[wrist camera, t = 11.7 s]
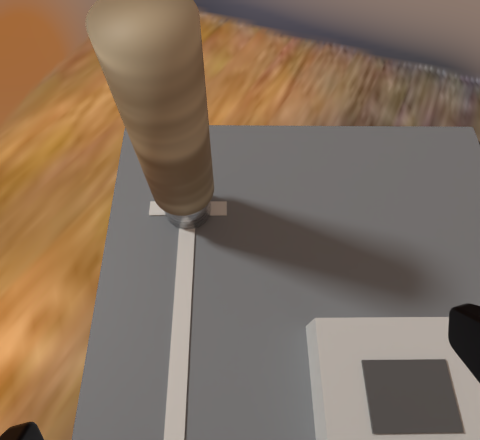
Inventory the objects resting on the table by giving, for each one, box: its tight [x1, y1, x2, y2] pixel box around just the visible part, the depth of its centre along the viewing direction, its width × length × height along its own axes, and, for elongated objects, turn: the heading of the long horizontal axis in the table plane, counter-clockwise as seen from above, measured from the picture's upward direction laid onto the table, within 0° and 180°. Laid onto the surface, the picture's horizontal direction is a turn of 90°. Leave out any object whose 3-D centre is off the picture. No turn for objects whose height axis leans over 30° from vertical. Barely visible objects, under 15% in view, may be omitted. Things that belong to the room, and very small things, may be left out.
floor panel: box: [72, 125, 480, 440], centre depth 22 cm, size 24×26×1 cm
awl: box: [86, 0, 214, 229], centre depth 17 cm, size 4×4×13 cm
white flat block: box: [306, 317, 480, 440], centre depth 17 cm, size 7×12×3 cm, turn 91°
